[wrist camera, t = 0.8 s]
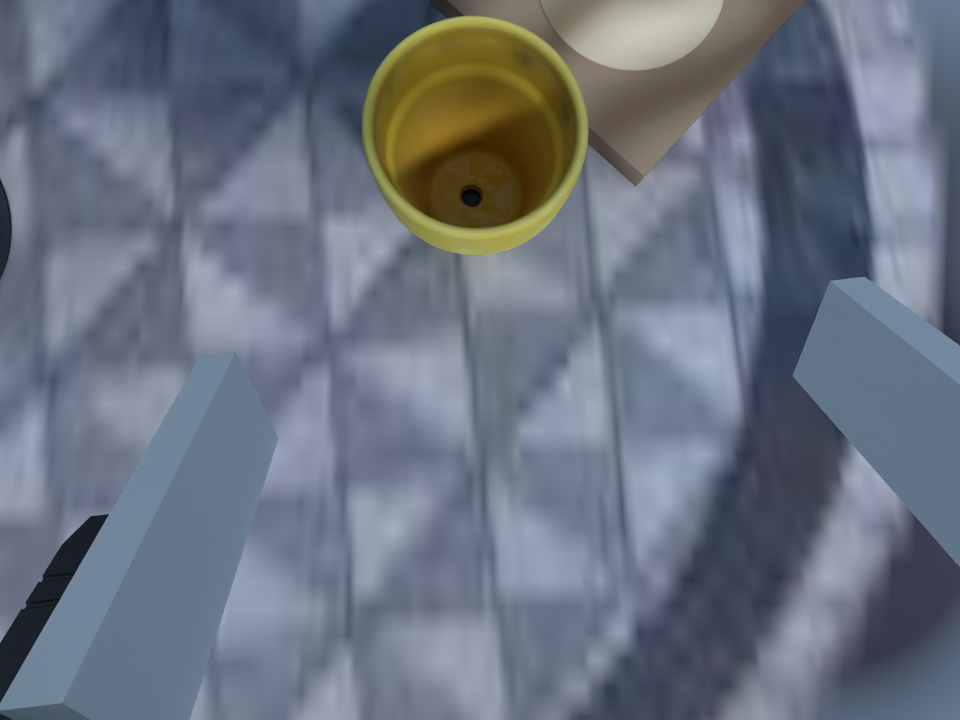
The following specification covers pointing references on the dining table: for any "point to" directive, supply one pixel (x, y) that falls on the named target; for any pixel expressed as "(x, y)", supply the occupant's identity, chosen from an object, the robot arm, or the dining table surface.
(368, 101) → the plant pot
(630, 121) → the trivet board
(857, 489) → the dining table surface
